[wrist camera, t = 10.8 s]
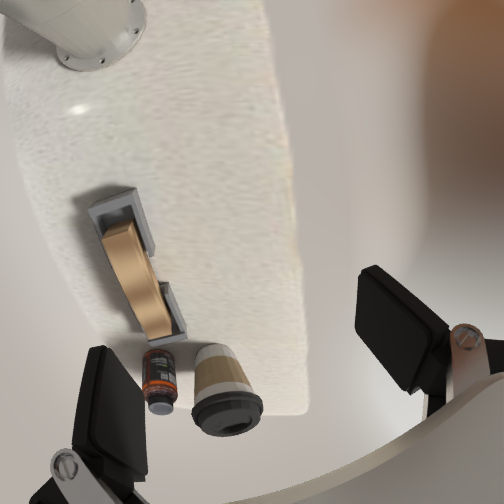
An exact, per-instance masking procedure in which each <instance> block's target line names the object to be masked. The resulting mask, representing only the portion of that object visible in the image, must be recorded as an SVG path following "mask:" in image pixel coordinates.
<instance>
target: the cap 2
mask: <svg viewBox="0 0 504 504" xmlns="http://www.w3.org/2000/svg"><path fill="white" fill-rule="evenodd" d="M159 286H160V289H161V291H162V293H163V296H164V298H165V300H166V303H167V305H168V307H169V310H170V312H171V330H172V334H171V335H167V336H163V337H159V338H154V339H150V340H149V338H148V337H147V335H146V333H145V331H144V329H143V328H142V326H141V324H140V322H139V320H138V318H137V316H136V314H135V313H134V311H133V309H132V307H131V305H130V303H129V306H130V308H131V309H132V311H133V313H134V315H135V317H136V319H137V321H138V323H139V325H140V326H141V328H142V330H143V332H144V334H145V335H146V337H147V339H148V343H149V344H150V346H151V347H155V346H159V345H163V344H168V343H172V342H176V341H180V340H184V339H188V338H187V329H186V323H185V321H184V319H183V316H182V314H181V312H180V309H179V307H178V304H177V302H176V300H175V297H174V295H173V292H172V290H171V287H170V285H169V282H168V283H164V284H161V285H159Z"/></svg>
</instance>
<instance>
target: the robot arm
mask: <svg viewBox="0 0 504 504" xmlns="http://www.w3.org/2000/svg"><path fill="white" fill-rule="evenodd" d="M132 2H133V3H132ZM0 13H1V14H3V15H5V16H8V17H9V18H12V19H13V20H15V21H17V22H19V23H20V24H22V25H24V26H25V27H27V28H29V29H31V30H32V31H34V32H36V33H37V34H39V35H41V36H42V37H44V38H46V39H47V40H49V41H51V42H52V43H54V44H55V45H56V53H57V55H58V57H59V59H60V61H61V62H62V63H63V64H64V65H66V66H67V67H69V68H71V69H73V70H77V71H94V70H99V69H101V68H104V67H107V66H109V65H111V64H113V63H115V62H116V61H118V60H119V59H121V58H122V57H124V56H125V55H126V54H127V53H128V52H129V51H131V49H132V48H133V47H134V46H135V45H136V44H137V42H138V41H139V39H140V38H141V36H142V34H143V31H144V29H145V25H146V11H145V8H144V5H143V3H142V2H141V1H140V0H0ZM136 32H138V33H137V34H135V33H136ZM68 58H69V59H68ZM103 61H105V62H104V63H103V64H102V62H103ZM448 328H449V325H447V324H446V323H445V322H444V321H443V320H442V319H441V318H440V317H439V316H438V315H436V314H435V313H434V312H433V311H432V310H431V309H429V307H427V306H426V305H425V304H424V303H423V302H422V301H420V300H419V299H418V298H417V297H416V296H415V295H413V294H412V293H411V292H410V291H409V290H407V289H406V288H405V287H404V286H403V285H401V284H400V283H399V282H398V281H396V280H395V279H394V278H393V277H392V276H390V275H389V274H388V273H386V272H385V271H384V270H383V269H382V268H380V267H379V266H377V265H373V266H370V267H367V268H365V269H363V270H362V271H361V274H360V275H359V276H358V290H357V304H356V316H355V330H356V333H357V334H358V336H360V338H361V339H362V340H363V342H364V343H365V344H366V345H367V347H368V348H369V349H370V350H371V352H372V353H373V354H374V355H375V357H376V358H377V359H378V360H379V362H380V363H381V364H382V365H383V367H384V368H385V369H386V370H387V371H388V373H389V374H390V376H391V377H392V378H393V379H394V381H395V382H396V383H397V384H398V386H399V387H400V388H401V389H402V390H403V391H407V392H408V393H409V395H411V394H413V393H415V392H416V391H418V390H419V389H422V391H423V392H424V405H423V416H422V422H421V423H420V424H418V425H416V426H415V427H413V428H412V429H410V430H409V431H407V432H406V433H404V434H403V435H401V436H399V437H398V438H396V439H394V440H393V441H391V442H389V443H388V444H386V445H384V446H383V447H381V448H379V449H377V450H375V451H374V452H372V453H370V454H368V455H366V456H364V457H362V458H360V459H358V460H356V461H354V462H352V463H350V464H348V465H346V466H344V467H341V468H339V469H337V470H334V471H332V472H330V473H327V474H325V475H323V476H320V477H318V478H315V479H312V480H310V481H307V482H304V483H301V484H298V485H295V486H292V487H290V488H286V489H283V490H280V491H276V492H273V493H270V494H266V495H262V496H258V497H254V498H250V499H245V500H240V501H235V502H230V503H225V504H504V340H492V339H484V337H483V334H482V333H481V332H480V330H479V329H478V328H476V327H475V326H473V325H470V324H459V325H457V326H455V327H454V328H453V329H452V331H450V330H449V329H448ZM50 469H51V474H52V477H51V478H50V479H49V480H48V481H47V482H46V483H45V484H44V485H43V486H42V487H41V488H40V489H39V490H38V491H37V492H36V493H35V494H34V495H33V496H32V497H31V499H30V501H29V504H149V503H148V502H147V501H146V500H145V499H144V498H143V497H142V496H141V495H140V494H139V493H138V492H137V491H136V490H135V489H134V482H145V475H147V474H148V465H147V452H146V433H145V397H144V393H143V391H142V390H141V388H140V387H139V386H138V385H137V383H136V382H135V381H134V380H133V378H132V377H131V376H130V374H129V373H128V372H127V370H126V369H125V368H124V366H123V365H122V363H121V362H120V361H119V359H118V358H117V356H116V355H115V354H114V352H113V351H112V349H110V348H107V347H106V346H105V345H101V346H97V347H92V348H90V349H89V352H88V356H87V360H86V364H85V368H84V373H83V377H82V382H81V387H80V392H79V397H78V403H77V409H76V415H75V421H74V429H73V437H72V450H71V449H67V448H65V449H61V450H59V451H57V452H56V453H55V454H54V456H53V458H52V460H51V464H50Z"/></svg>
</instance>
